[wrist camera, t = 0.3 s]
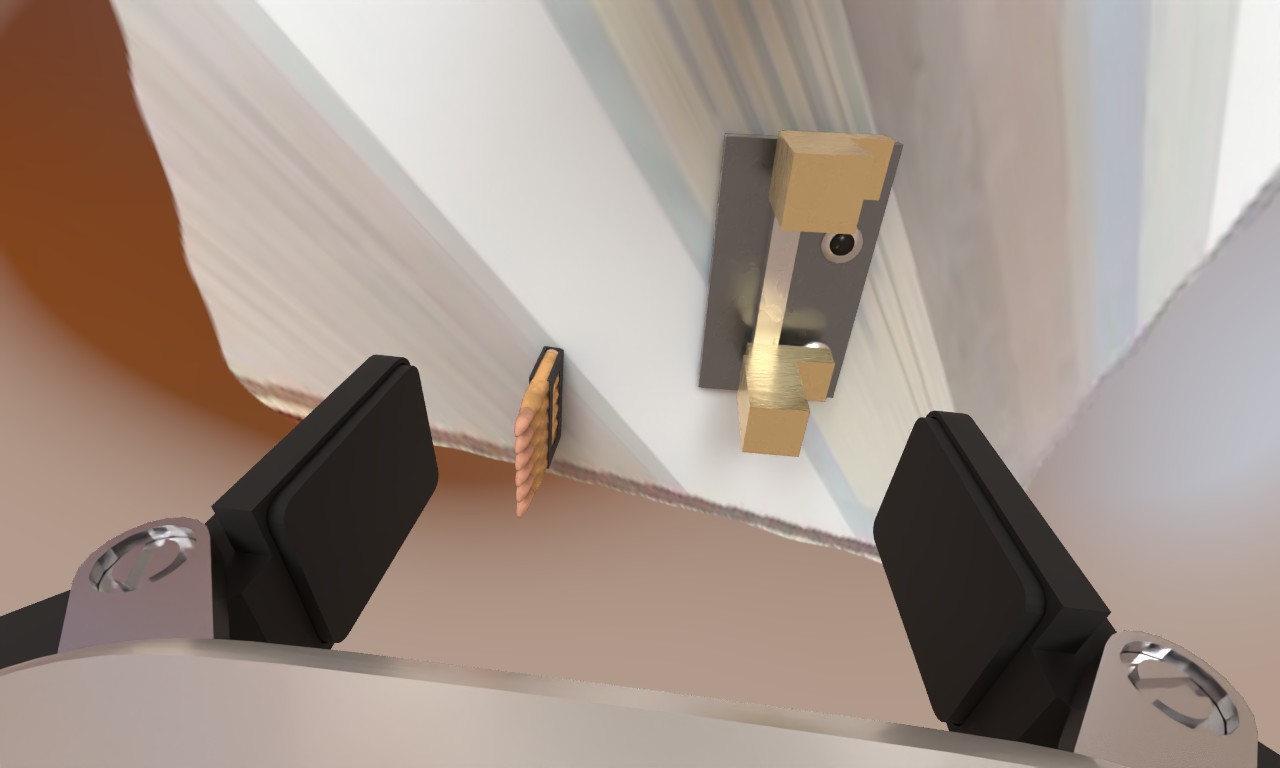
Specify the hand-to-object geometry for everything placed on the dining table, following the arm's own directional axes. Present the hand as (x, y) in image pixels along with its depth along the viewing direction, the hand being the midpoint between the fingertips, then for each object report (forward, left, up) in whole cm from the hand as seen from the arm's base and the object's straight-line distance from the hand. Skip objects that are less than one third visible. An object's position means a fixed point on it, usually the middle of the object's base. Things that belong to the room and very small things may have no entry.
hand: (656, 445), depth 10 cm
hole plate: (+10, +8, -34) cm, 37 cm away
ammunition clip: (+23, -12, -35) cm, 43 cm away
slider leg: (0, +9, -32) cm, 34 cm away
